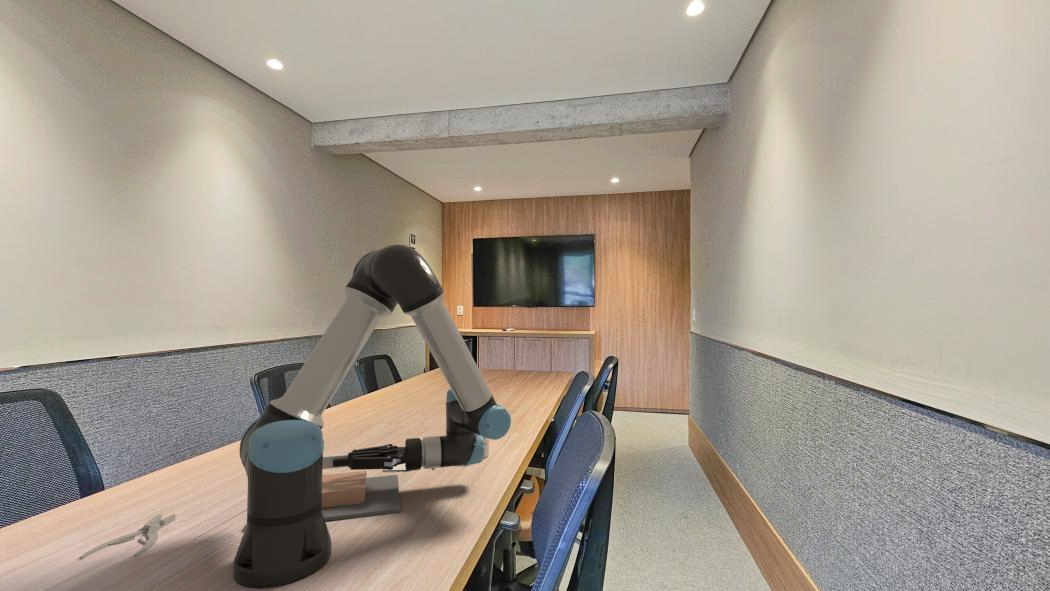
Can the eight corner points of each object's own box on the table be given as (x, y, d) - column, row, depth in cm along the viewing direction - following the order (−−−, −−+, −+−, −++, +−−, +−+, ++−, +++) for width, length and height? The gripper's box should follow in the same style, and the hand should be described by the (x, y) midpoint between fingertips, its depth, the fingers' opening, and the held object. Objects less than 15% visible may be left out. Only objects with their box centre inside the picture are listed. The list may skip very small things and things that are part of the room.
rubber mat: (400, 512, 99) (400, 508, 99) (245, 531, 90) (245, 527, 90) (397, 477, 120) (397, 474, 120) (271, 490, 111) (271, 487, 111)
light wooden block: (364, 488, 102) (275, 497, 97) (364, 503, 102) (275, 514, 97) (366, 470, 114) (287, 478, 108) (366, 484, 113) (286, 492, 108)
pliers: (78, 552, 80) (142, 514, 95) (78, 561, 80) (142, 522, 95) (137, 549, 81) (192, 513, 96) (137, 558, 81) (191, 520, 96)
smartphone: (411, 473, 125) (420, 454, 141) (411, 469, 125) (420, 451, 141) (382, 474, 125) (394, 455, 141) (382, 470, 125) (394, 452, 141)
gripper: (423, 477, 105) (313, 489, 98) (419, 460, 118) (321, 469, 111) (424, 445, 106) (314, 454, 99) (420, 431, 118) (322, 438, 111)
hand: (318, 462), depth 105 cm, fingers closed
